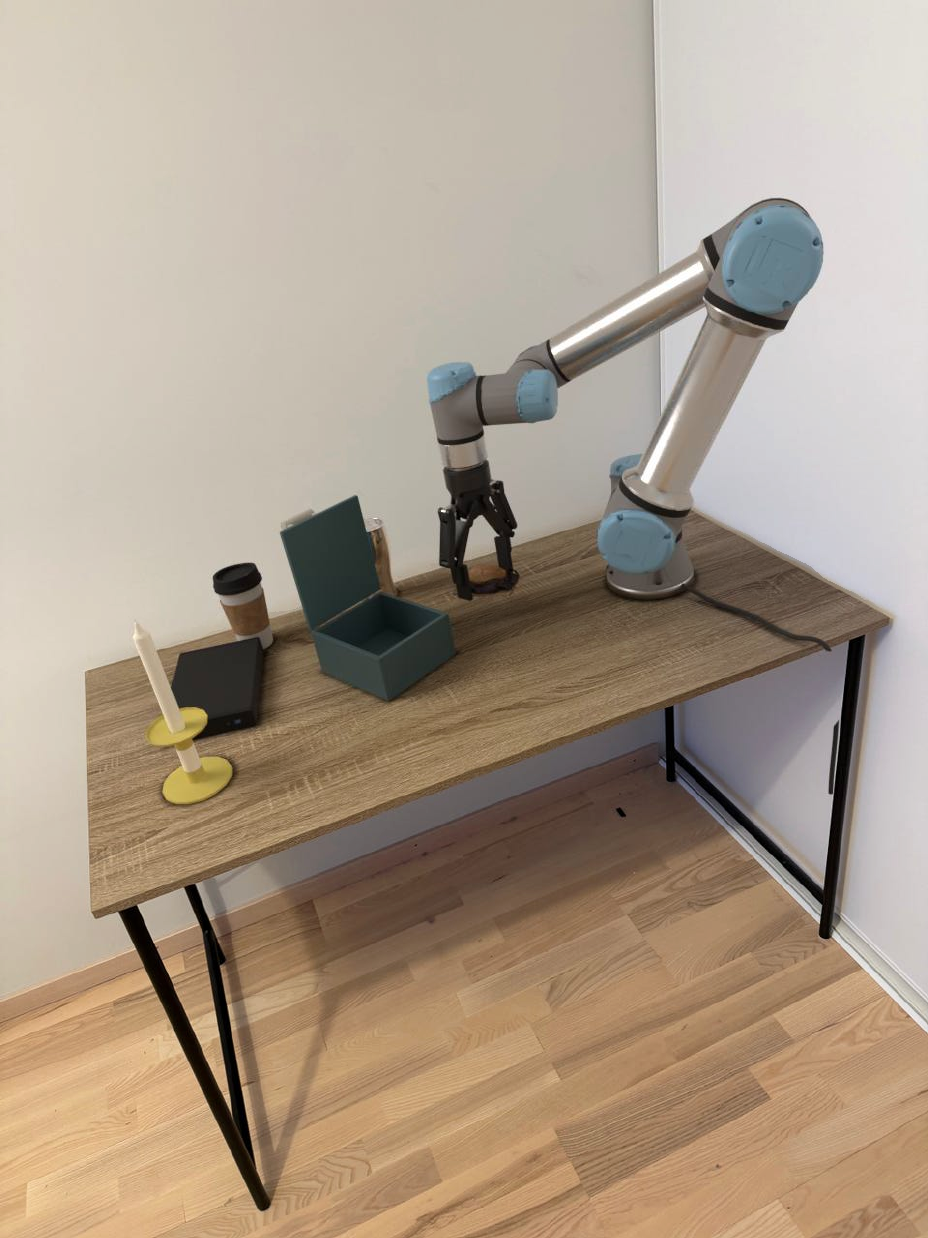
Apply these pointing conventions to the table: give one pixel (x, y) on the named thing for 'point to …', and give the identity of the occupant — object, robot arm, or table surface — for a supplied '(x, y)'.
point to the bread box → (384, 644)
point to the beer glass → (381, 554)
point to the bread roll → (491, 581)
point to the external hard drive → (221, 684)
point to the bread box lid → (330, 559)
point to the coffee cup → (244, 601)
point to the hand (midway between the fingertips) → (486, 584)
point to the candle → (180, 735)
